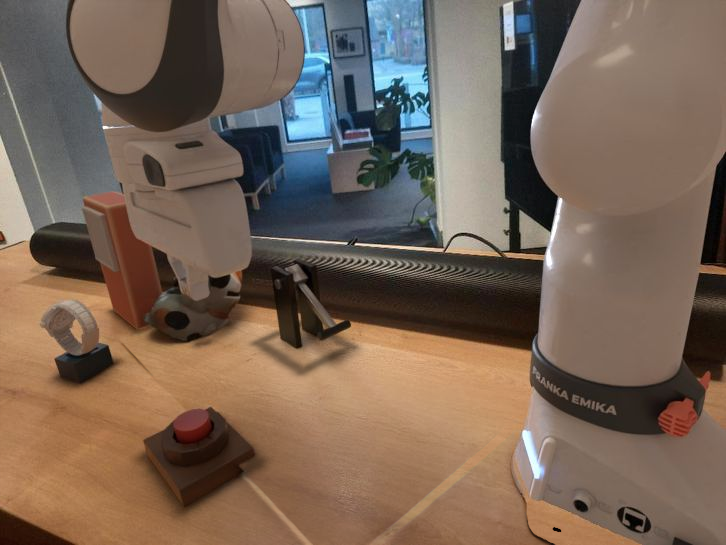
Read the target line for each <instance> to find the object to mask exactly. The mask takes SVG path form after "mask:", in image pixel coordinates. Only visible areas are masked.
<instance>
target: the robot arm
mask: <svg viewBox="0 0 726 545" xmlns="http://www.w3.org/2000/svg"><path fill="white" fill-rule="evenodd" d="M65 12H66V13H65V33H66V40H67V45H68V50H69V53H70V55H71V58H72V60H73V63H74V65H75V68H76V69H77V71H78V73H79V74H80V77H81V78H82V80H83V81H84V83H85V84H86V86H87V87H88V88H89V89H90V91H91V92H92V94H94V95H95V97H96V98H97V99H98V100H99V101H100V103H101V104H100V105H101V118H100V119H101V126H102V132H103V134H104V138H105V143H106V146H107V149H108V150H107V151H108V154H109V158H110V161H111V165H112V168H113V172H114V177H115V179H116V181H117V183H120V184H121V187H122V194H124V198H125V203H126V208H127V213H128V217H129V222H130V226H131V229H132V231H133V233H134V235H135V237H136V238H137V239H139V240H141V241H143V242H145V243H147V244H149V245H151V246H152V248H154V249H156V250H158V251H161V252H162V253H164V254H166V256H167V261H168V264H169V265H170V267H171V269H172V271H173V273H174V275H175V276H176V277H177V278H178V282H179V286H180V290H181V292H182V293H183V294H185V295H187V296H188V297H190V298H191V299H193V300H195V301H198V300H201V299H204V298H207V297H208V296H209V294H210V292H209V287H208V282H207V280H208V275H209V276H211V277H214V278H218V277H222V276H225V275H228V274H232V273H234V272H237V271H240V270H241V271H243V270H245V269H247V268H248V267H249V265H250V263H251V260H252V256H253V244H252V236H251V228H250V220H249V215H248V214H249V213H248V208H247V202H246V197H245V193H244V192H243V189H242V186H241V185H240V183H239V182H238V181H237V180H236V178H240V177H242V176H243V175H244V163H243V159H242V158H243V157H242V156H241V153H240V152H239V151H238V150H237V149H236V148H234V147H233V146H232V145H230V144H229V143H228V142H226V141H225V140H224V139H223V138H221V137H220V135H218V133H217V131H215V130H213V129H212V124H211V119H212V118H217V117H223V116H224V117H225V116H229V115H230V116H231V115H237V114H241V113H244V112H248V111H253V110H258V109H263V108H266V107H269V106H272V105H273V104H275V103H277V102H279V101H281V100H283V99H285V98H286V97H287V96H289V95H290V93H291V92H292V91H293V90H294V89H295V87H296V86H297V84H298V82H299V80H300V79H301V75H302V72H303V69H304V65H305V59H306V45H305V36H304V32H303V28H302V26H301V22H300V20H299V17H298V16H297V14H296V12H295V10H294V8H293V7H292V6H291V4H290V3H289V2H288V1H287V0H67V5H66V10H65ZM530 126H531V127H530V148H531V155H532V158H533V162H534V165H535V167H536V169H537V172H538V174H539V176H540V177H541V179H542V180H543V182H544V183H545V185H546V186H547V187H548V188H549V189H550V191H552V193H554V194H555V195H556V196H557V201H556V206H555V211H554V216H553V221H552V226H551V231H550V235H549V238H548V242H547V246H546V250H545V253H544V257H543V263H542V264H543V265H542V275H541V276H542V278H541V289H540V303H539V316H538V333H536V334H535V336H534V338H533V340H532V346H531V354H530V362H529V363H530V366H529V385H530V386H531V393H530V399H529V405H528V409H527V413H526V417H525V421H524V425H523V427H522V428H523V429H522V431H521V434H520V437H519V438H518V441H517V443H518V444H517V443H516V445H517V446H515V447H514V449H513V452H512V455H511V459H510V468H511V469H510V471H511V476H512V478H513V481H514V483H515V486H516V488H517V490H518V492H519V493H520V494H521V493H523V492H524V489H523V487H522V485H521V483H520V481H519V479H518V477H517V474H516V471H515V467H514V459H513V458H514V451H515V460H516V463H517V467H518V470H519V472H520V475H521V478H522V480H523V482H524V484H525V486H526V488H527V491H528V493H529V495H530V498H531V499H533V500H536V501H541V500H543V501H545V502H547V503H549V504H551V505H554V506H557V507H559V508H561V509H564V510H566V511H568V512H571V513H572V514H575V515H578V516H579V517H581V518H583V519H585V520H588V521H590V522H591V523H593V524H596V525H599V526H600V527H602V528H605V529H608V530H610V531H611V532H613V533H615V534H619V535H621V536H623V537H626V538H628V539H631V540H633V541H635V542H637V543H639V544H642V545H726V430H725V429H724V427H722V425H720V424H719V423H718V422H717V421H716V420H715V419H714V418H713V417H712V416H711V415H710V414H709V413H708V412H706V410H705V409H704V406H705V400H706V394H707V390H708V388H709V385H710V382H711V371H710V370H708V371H707V370H706V372H705V373H704V374H703V376H702V377H701V379H698V378H697V377H696V376H695V374H694V373H693V372H692V371H691V369H690V368H689V367H688V365H687V363H686V362H685V360H684V357H683V354H684V349H685V344H686V339H687V333H688V329H689V324H690V320H691V314H692V310H693V304H694V300H695V294H696V289H697V285H698V280H699V275H700V268H701V263H702V262H701V260H702V254H703V248H704V242H705V235H706V229H707V224H708V217H709V210H710V206H711V198H712V194H713V187H714V182H715V177H716V170H717V165H718V164H719V163H720V161H721V160H722V158H723V157H724V155H725V153H726V0H580V2H579V5H578V7H577V9H576V11H575V14H574V16H573V19H572V21H571V24H570V26H569V29H568V30H567V34H566V36H565V38H564V41H563V43H562V46H561V48H560V51H559V53H558V56H557V58H556V61H555V62H554V66H553V68H552V71H551V73H550V76H549V79H548V81H547V83H546V84H545V87H544V89H543V91H542V93H541V95H540V97H539V99H538V102H537V104H536V107H535V109H534V113H533V116H532V119H531V125H530ZM515 448H516V450H515ZM525 495H526V494H525V492H524V494H523V495H521V497H522V498H523V497H524V496H525ZM526 499H527V497H526Z"/></svg>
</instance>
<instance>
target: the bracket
mask: <svg viewBox="0 0 726 545" xmlns="http://www.w3.org/2000/svg"><path fill="white" fill-rule="evenodd" d="M296 264H298V265H299V267H300V268H301V269H302V270H303V272H304V273H305V274H306V276H307V277H308V279H307V281H306V285H307V287H308V288H309V289H310V290H311V292H312V293H313V294H314V296H315V297H316V298H317V300H318V301H319V302H320V303H321V296H320V295H321V294H320V286H319V278H318V277H319V276H318V268H317V264H314V263H312V262H309V261H308V260H304V259H301V258H296V259H293V265H296ZM270 276H271V282H272V289H273V296H274V304H275V309H276V317H277V324H278V332H279V336H280V337H279V338H280V340H281V341H283V342H285V343H286V344H288V345H290V346H291V347H293V348H295V349H297V350H298V349H299V348H302V347H303V340H302V333H301V330H303V331H304V332H306V333H308V334H310V335H312V336H313V337H315V338H317V339H318V337H317V333H318V332H321V331H323V330H324V324H323V323H322V322H321V320H320V319H319V318H318V316H317V315H316V314H315V312H314V311H313V310H312V308H311V307H310V306H309V304H308V303H307V302H306V300H305V299H304V298H303V296H302V295H301V294H300V292H299V291H298V290H297V291H295V285H294V277H293V273H291V272H289V271H286V270H285V268H282V267H279V266H276V265H275V266H273V267H272V266H271V267H270ZM296 292H297V294H296ZM297 299H298V302H297ZM298 307H299V309H298ZM298 310H299V311H298ZM299 315H300V316H299ZM300 321H301V322H300ZM300 323H301V324H300Z"/></svg>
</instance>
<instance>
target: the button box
mask: <svg viewBox="0 0 726 545" xmlns="http://www.w3.org/2000/svg"><path fill="white" fill-rule="evenodd" d="M204 410H206V411H207V412H208V413H209V417H210V421H211V426H212V431H211V433H210V435H209V436H208V437H206V438H204V439H202V440H200V441H199V442H196V443H190V444H182V443H180V442H179V441H178V440H177V438H176V434H175V430H174V426H173V423H174V420H172V421H171V422H170V423H169V424H168V425H167V426H166V427H165V428H164V429H163V430H161V431H158V432H157V433H155V434H152V435H150V436H148V437H146V438H144V439H143V440H142V441H143V445H144V448H145V451H146V455H147V457H148V459H149V460H150V461H151V463H152V464H153V466H154V467H155V468H156V470H157V471H158V473H159V474H160V475H161V477H162V478H163V480H164V481H165V482H166V484H167V485H168V487H169V488H170V490H171V491H172V492H173V494H174V495H175V497H176V498H177V500H178V501H179V502H180V504H181V505H182V506H183V507H184V508H185V507H187V506H188V505H191V504H192V503H193V502H195V501H197V500H198V499H201V498H202V497H204V496H205V495H207V494H208V493H210V492H212V491H213V490H215V489H216V488H218V487H220V486H222V485H224V484H226V483H227V482H229V481H230V480H232V479H234V478H235V477H237V476H238V475H241V474H242V473H244V469H242V467H240V464H242V463H244V462H245V461H247V460H249V459H250V458H252V457H254V456H255V455H256V454H255V448H254V447H253V445H252V444H250V443H249V442H248V441H247V440H246V439H245V438H244V437H243V436H242V435H241V434H240V433H239V432H238V431H237V430H236V429H235V428H234V427H232V425H231V424H229V422H228V421H227V419H226V418H225V417H224V416H223V415H222V414H221V413H220V412H218V411H216V410H215V409H214V408H213V407H212V406H209V407H208V408H205V409H204Z"/></svg>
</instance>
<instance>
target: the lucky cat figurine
mask: <svg viewBox="0 0 726 545" xmlns="http://www.w3.org/2000/svg"><path fill="white" fill-rule="evenodd" d="M242 281H243V270H240V271H237V272H234V273H232V274H228V275H225V276H222V277H218V278H214V277H211V276H209V275H208V280H207V282H208V287H209V292H210V294H209V296H208V297H207V298H204V299H201V300H198V301H195V300H193V299H191V298H190V297H188V296H187V295H185V294H183V293H182V292H181V290H180V286H179V282H178V278H177V277H176V275H175V276H173V278H172V284H173V286H172V287H171V288H169V289H167V290H166V291H164V292H163V291H162V294H161V295H160V296H159V297H158V299H157V300H156V302H155V305H154V307H153V309H152V311H151V312H150V313H147V314H145V315H144V316H143V320H144V322H146V323H147V324H149V325H148V326H150V327H152V328H154V329H156V330H158V331H160V332H162V333H164V334H165V335H167V336H169V337H171V338H173V339H177V340H180V341H183V342H191V341H193V340H194V339H195V340H197V339H199V338H203V337H208V336H211V335H213V334H214V333H216V332H217V331H218V330H220V329H221V328H223V327H224V326H225V325H227V323H228V322H229V315H230V313H231V311H232V310H233V309H234V308H235V307H236V306H237V304H238V302H239V301H240V299H241V293H240V292H241V288H242Z"/></svg>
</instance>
